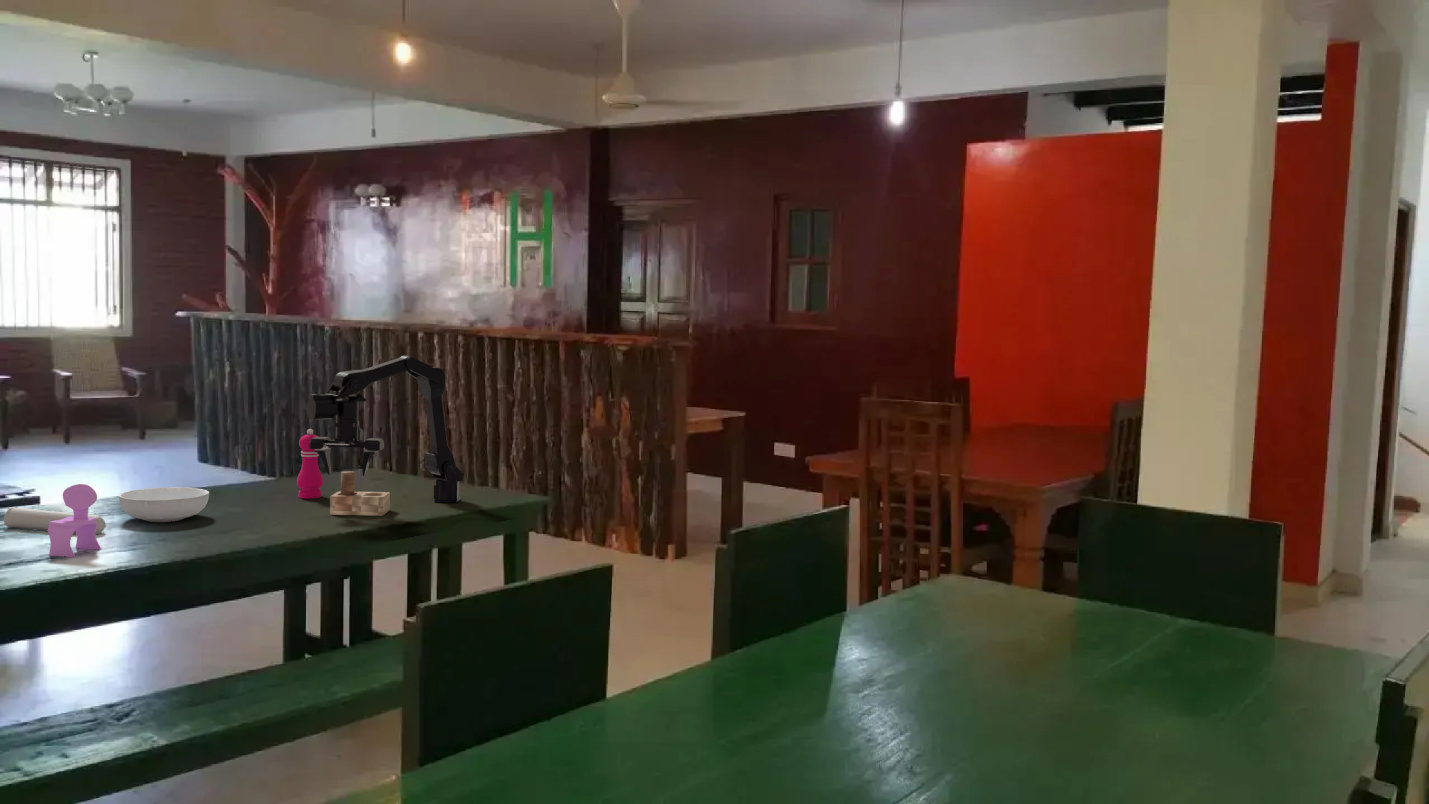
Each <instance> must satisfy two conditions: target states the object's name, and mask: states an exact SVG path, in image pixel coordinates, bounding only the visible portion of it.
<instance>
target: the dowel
mask: <svg viewBox="0 0 1429 804" xmlns="http://www.w3.org/2000/svg"><path fill="white" fill-rule="evenodd" d="M355 481H356V472H355V471H353V470H352V471H351V470H350V471H349V470H348V471H347V470H345V471H340V491H341V495H348V496H354V495H355V492H356V490H355V487H356V482H355Z"/></svg>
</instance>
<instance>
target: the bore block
mask: <svg viewBox="0 0 1429 804" xmlns="http://www.w3.org/2000/svg"><path fill="white" fill-rule="evenodd" d="M390 498H391V493H390V491H389V492H385V491H383V492H382V491H355V495H354V496H348V495H341V490H339V491H337V492H334V493H333V494H332V495H330V497H329V515H334V516H335V515H337V516H339V515H340V516H381V517H382V516H384V515H385V514H387V513H388V512H389V511H391V507H390V506H391V504H390V502H391V499H390Z"/></svg>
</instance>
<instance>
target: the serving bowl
mask: <svg viewBox="0 0 1429 804" xmlns="http://www.w3.org/2000/svg"><path fill="white" fill-rule="evenodd" d="M209 498H210V491H209V490H206V489H201V488H195V487H173V486H172V487H151V488H142V489H141V488H140V489H133V490H128V491H124V492H122V493H119V495H118V501H119V504H120V507H121V508H122V510H123V512H125V513H126V514H127V515H128V516H130V517H131V518H135V519H138V520H143V521H146V522H150V523H169V522H171V521H172V522H177V521H183V519H187V518H189V517H193V516H194V515H197V514H199V513H200V512H202V510H204V508H205V507H206V506H207V504H208V501H209Z"/></svg>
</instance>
